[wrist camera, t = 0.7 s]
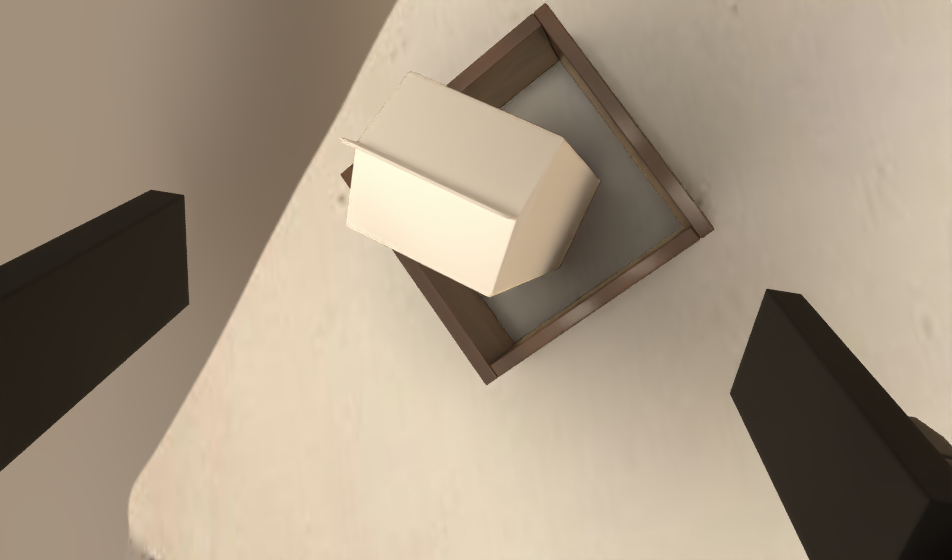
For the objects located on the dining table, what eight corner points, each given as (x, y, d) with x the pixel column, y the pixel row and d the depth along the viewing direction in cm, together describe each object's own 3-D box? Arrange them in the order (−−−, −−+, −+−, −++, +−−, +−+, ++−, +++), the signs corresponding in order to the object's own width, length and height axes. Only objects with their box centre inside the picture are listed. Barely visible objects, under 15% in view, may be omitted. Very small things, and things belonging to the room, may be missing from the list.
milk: (513, 141, 41) (371, 37, 20) (603, 181, 40) (554, 116, 19) (473, 230, 42) (297, 223, 21) (559, 271, 41) (466, 309, 20)
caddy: (562, 41, 40) (545, 1, 33) (702, 229, 39) (715, 229, 32) (387, 183, 43) (339, 174, 37) (511, 360, 42) (486, 385, 35)
